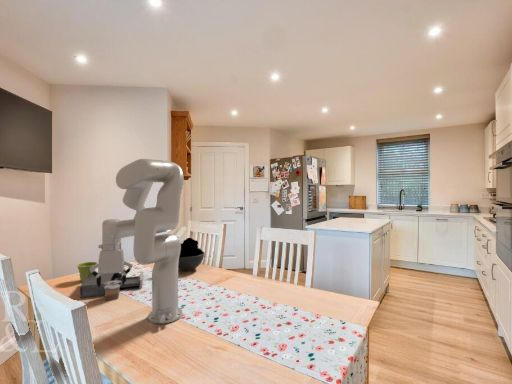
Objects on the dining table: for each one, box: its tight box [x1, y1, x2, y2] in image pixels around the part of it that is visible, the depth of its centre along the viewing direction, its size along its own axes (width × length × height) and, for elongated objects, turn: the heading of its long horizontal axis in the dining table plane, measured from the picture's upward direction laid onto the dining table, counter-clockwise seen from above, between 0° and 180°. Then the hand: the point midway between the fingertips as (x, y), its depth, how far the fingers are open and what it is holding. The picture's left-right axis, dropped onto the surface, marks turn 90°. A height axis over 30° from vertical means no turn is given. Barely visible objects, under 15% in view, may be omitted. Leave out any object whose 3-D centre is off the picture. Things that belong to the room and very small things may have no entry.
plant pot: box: [76, 261, 99, 283], centre depth 147 cm, size 9×9×9 cm
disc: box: [103, 280, 121, 289], centre depth 124 cm, size 7×7×2 cm
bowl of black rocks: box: [178, 237, 205, 272], centre depth 165 cm, size 20×20×19 cm
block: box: [104, 287, 120, 301], centre depth 124 cm, size 5×5×5 cm
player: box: [79, 271, 123, 299], centre depth 135 cm, size 20×15×5 cm
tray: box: [114, 271, 144, 289], centre depth 139 cm, size 14×14×4 cm
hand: (111, 284), depth 124 cm, fingers open, 9 cm apart
